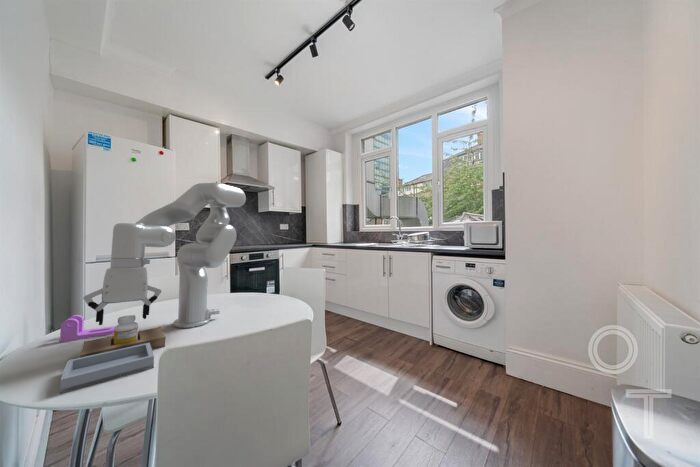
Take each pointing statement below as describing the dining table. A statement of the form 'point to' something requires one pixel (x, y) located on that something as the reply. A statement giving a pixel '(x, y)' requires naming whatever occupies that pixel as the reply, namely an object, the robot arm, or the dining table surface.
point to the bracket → (81, 330)
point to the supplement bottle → (126, 330)
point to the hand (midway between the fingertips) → (123, 320)
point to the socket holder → (107, 343)
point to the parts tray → (106, 366)
